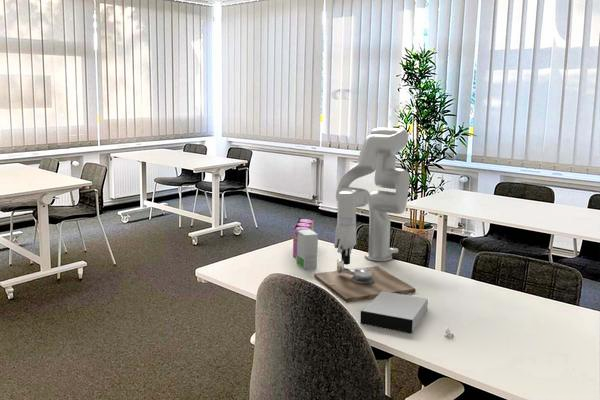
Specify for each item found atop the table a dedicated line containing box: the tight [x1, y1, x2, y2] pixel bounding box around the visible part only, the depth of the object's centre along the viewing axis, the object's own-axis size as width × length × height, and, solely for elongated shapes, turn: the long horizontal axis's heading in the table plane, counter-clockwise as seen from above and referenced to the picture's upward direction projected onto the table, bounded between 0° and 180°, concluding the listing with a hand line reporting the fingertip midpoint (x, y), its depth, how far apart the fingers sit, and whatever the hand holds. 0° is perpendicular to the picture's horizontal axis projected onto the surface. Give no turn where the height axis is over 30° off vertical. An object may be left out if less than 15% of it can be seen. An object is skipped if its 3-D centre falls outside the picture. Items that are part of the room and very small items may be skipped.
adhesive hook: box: [443, 326, 455, 338], centre depth 184 cm, size 3×3×3 cm
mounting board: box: [313, 265, 416, 303], centre depth 231 cm, size 30×30×2 cm
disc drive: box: [359, 291, 429, 335], centre depth 199 cm, size 18×22×5 cm
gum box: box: [292, 217, 315, 258], centre depth 277 cm, size 24×8×14 cm, turn 174°
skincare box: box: [296, 229, 319, 270], centre depth 253 cm, size 8×7×16 cm
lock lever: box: [336, 258, 372, 281], centre depth 233 cm, size 16×9×5 cm, turn 52°
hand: (345, 263), depth 239 cm, fingers closed
